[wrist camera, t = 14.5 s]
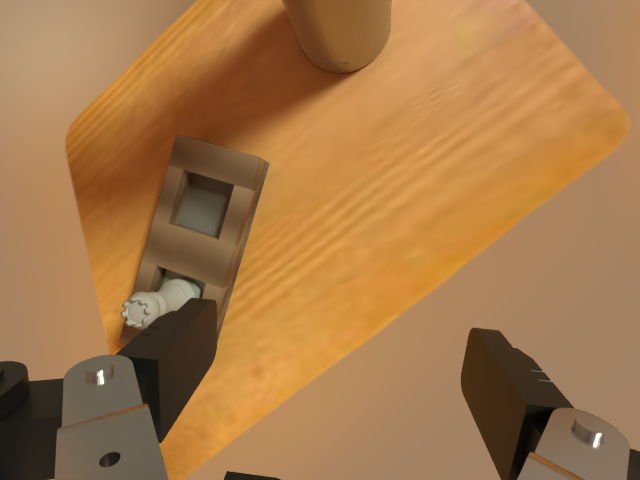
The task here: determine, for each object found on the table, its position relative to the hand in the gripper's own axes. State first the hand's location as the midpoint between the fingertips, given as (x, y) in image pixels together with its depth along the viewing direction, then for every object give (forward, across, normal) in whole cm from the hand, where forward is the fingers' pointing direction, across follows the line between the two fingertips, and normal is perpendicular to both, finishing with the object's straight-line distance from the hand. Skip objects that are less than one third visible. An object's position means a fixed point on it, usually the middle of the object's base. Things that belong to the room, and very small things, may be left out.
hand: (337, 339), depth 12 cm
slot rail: (+26, +15, +6) cm, 31 cm away
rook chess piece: (+24, +16, +11) cm, 31 cm away
